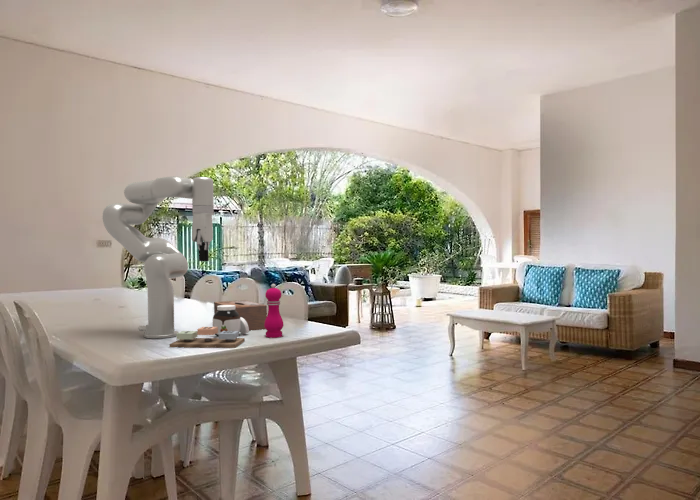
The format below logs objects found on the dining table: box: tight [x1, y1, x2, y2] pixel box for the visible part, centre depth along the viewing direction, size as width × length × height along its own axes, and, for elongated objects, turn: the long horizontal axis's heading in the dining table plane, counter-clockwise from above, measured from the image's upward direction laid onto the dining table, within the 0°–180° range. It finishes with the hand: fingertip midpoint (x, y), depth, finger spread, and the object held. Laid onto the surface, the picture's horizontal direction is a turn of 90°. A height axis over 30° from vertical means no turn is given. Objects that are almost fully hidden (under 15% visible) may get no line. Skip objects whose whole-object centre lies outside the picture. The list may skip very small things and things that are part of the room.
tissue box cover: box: [213, 299, 268, 332], centre depth 234 cm, size 26×14×10 cm, turn 30°
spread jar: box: [212, 305, 250, 338], centre depth 212 cm, size 12×11×12 cm
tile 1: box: [176, 330, 199, 340], centre depth 194 cm, size 6×6×2 cm
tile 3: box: [218, 331, 240, 339], centre depth 193 cm, size 6×6×2 cm
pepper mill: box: [264, 283, 284, 339], centre depth 209 cm, size 7×7×20 cm
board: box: [168, 337, 246, 349], centre depth 194 cm, size 23×12×2 cm, turn 86°
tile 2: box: [196, 326, 218, 336], centre depth 194 cm, size 6×6×2 cm
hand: (203, 261), depth 202 cm, fingers closed
